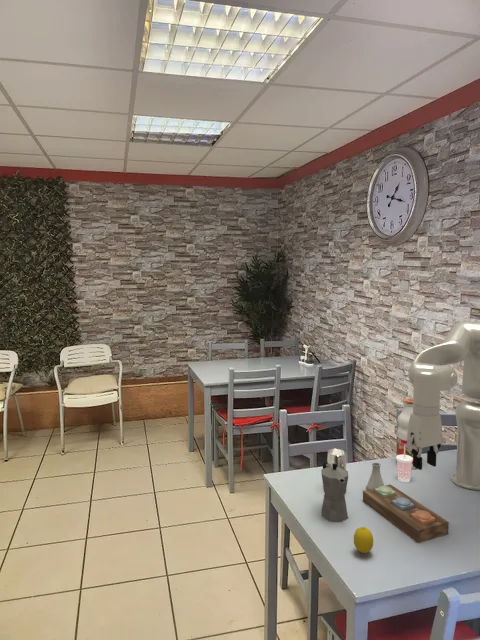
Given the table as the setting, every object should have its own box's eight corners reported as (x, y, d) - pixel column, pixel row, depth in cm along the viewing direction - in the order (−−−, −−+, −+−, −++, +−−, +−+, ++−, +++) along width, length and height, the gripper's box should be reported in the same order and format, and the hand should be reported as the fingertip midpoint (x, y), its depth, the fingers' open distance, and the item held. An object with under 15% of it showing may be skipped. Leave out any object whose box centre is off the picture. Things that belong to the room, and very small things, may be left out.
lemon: (351, 548, 136) (351, 522, 135) (369, 546, 136) (369, 521, 135) (357, 559, 130) (357, 533, 129) (376, 558, 131) (376, 532, 130)
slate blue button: (403, 504, 155) (403, 495, 155) (414, 511, 150) (414, 502, 150) (391, 507, 153) (391, 498, 153) (402, 514, 149) (402, 505, 148)
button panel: (389, 494, 167) (390, 484, 166) (448, 534, 142) (448, 521, 141) (362, 501, 162) (362, 490, 162) (418, 543, 137) (418, 530, 137)
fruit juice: (424, 468, 188) (426, 402, 185) (403, 470, 186) (405, 403, 183) (412, 459, 197) (414, 396, 194) (392, 461, 195) (393, 397, 192)
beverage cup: (413, 478, 179) (414, 444, 178) (410, 484, 174) (411, 449, 173) (397, 474, 183) (398, 441, 181) (393, 480, 177) (394, 446, 176)
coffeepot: (356, 523, 148) (357, 470, 147) (329, 527, 146) (329, 474, 144) (336, 500, 163) (336, 452, 161) (311, 503, 161) (311, 455, 159)
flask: (386, 494, 167) (387, 468, 166) (366, 493, 168) (366, 467, 167) (384, 485, 174) (385, 460, 173) (365, 484, 175) (365, 459, 174)
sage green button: (385, 492, 163) (386, 484, 163) (395, 499, 159) (395, 490, 158) (374, 495, 161) (374, 487, 161) (383, 501, 157) (383, 493, 156)
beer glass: (325, 493, 169) (325, 454, 167) (329, 484, 175) (329, 447, 173) (344, 496, 166) (344, 457, 164) (347, 487, 172) (347, 449, 171)
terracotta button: (423, 517, 147) (423, 508, 146) (435, 525, 142) (435, 516, 142) (410, 521, 145) (411, 511, 144) (422, 529, 140) (422, 519, 140)
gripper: (438, 402, 146) (436, 457, 148) (395, 409, 140) (394, 466, 142) (457, 409, 139) (454, 466, 141) (412, 416, 133) (411, 476, 135)
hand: (424, 465), depth 141 cm, fingers open, 4 cm apart
